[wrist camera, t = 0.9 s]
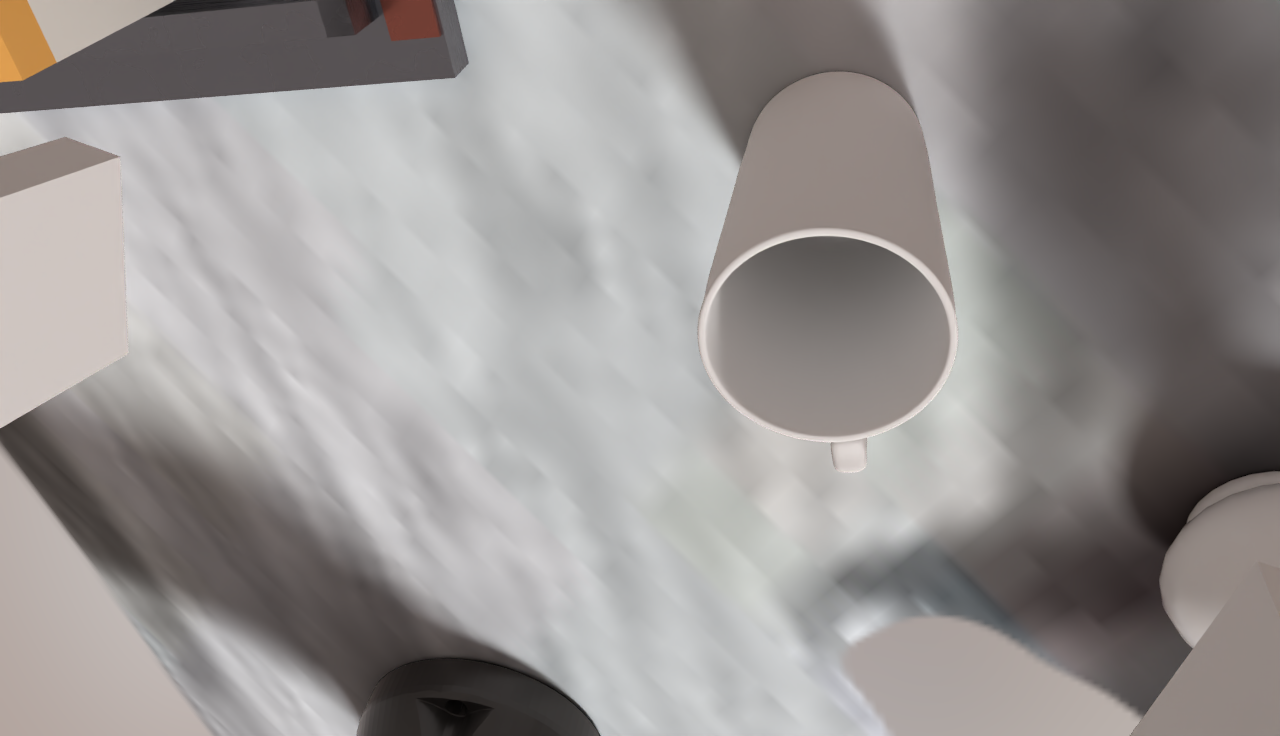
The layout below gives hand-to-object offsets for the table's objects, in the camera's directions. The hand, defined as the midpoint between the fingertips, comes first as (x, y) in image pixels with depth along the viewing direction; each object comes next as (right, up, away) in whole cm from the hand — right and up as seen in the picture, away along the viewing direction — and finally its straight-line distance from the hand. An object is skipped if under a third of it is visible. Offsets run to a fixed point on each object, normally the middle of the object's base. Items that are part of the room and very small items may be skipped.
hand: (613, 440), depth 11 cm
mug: (+8, +7, +25) cm, 27 cm away
